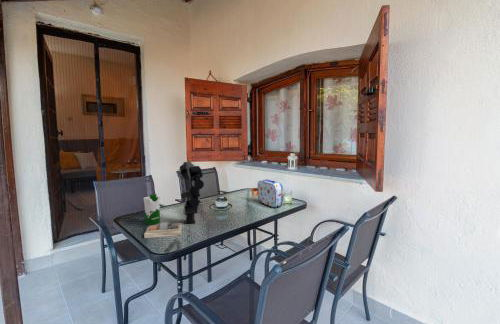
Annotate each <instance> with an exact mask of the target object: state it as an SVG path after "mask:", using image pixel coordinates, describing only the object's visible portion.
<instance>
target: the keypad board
mask: <svg viewBox="0 0 500 324" xmlns="http://www.w3.org/2000/svg"><path fill="white" fill-rule="evenodd" d="M171 224H172V223H168V229H167V230H160V224H155V225H148V227H147V229H146V230H145V231H144V234H143V235H144V239H149V238H150V239H151V238H164V237H176V236H181V233H182V229H183V223H182V222H181V223H177V224H178V229H171ZM156 225H158V230H154V231H150V227H151V226H156Z"/></svg>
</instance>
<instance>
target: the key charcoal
mask: <svg viewBox="0 0 500 324" xmlns="http://www.w3.org/2000/svg"><path fill="white" fill-rule="evenodd" d="M170 224H171V229H178V224H179V223H170Z"/></svg>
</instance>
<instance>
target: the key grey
mask: <svg viewBox="0 0 500 324" xmlns="http://www.w3.org/2000/svg"><path fill="white" fill-rule="evenodd" d="M168 224H169V222H167V221H166V222H160V223H159V225H160V230H167V229H168Z"/></svg>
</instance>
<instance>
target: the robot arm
mask: <svg viewBox="0 0 500 324" xmlns="http://www.w3.org/2000/svg"><path fill="white" fill-rule="evenodd" d="M178 173H179V175H180V178H181V179H182V180H183V185H184V186H183V187H184V192H181V193H180V196H181V198H182V200H185V202H184V206H183V208H182V211H183V212H182V213H183V214H184V216H185V224H186V225H189V224H196V219H195V217H196V214H198V209H199V205H200V204H201V192H200V190H201V189H203V188H204V185H205V183H204V181H203V180H202V179H201V178H204V177H203V176H204V174H203V170H202V168H201V167H200V166H199V165H194V164H193V163H192V161H184V162H183V163H182V164H181V165H180V166H179V168H178Z"/></svg>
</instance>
